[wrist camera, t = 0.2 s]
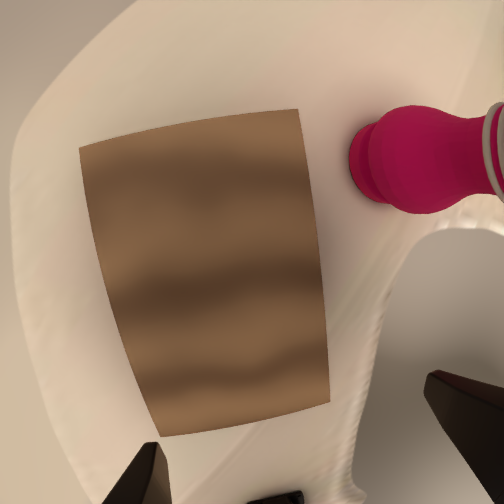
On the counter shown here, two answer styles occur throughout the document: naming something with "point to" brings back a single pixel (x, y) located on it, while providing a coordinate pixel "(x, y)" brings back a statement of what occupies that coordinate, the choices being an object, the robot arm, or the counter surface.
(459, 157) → the pepper mill
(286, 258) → the walnut board
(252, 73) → the counter surface
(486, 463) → the robot arm
